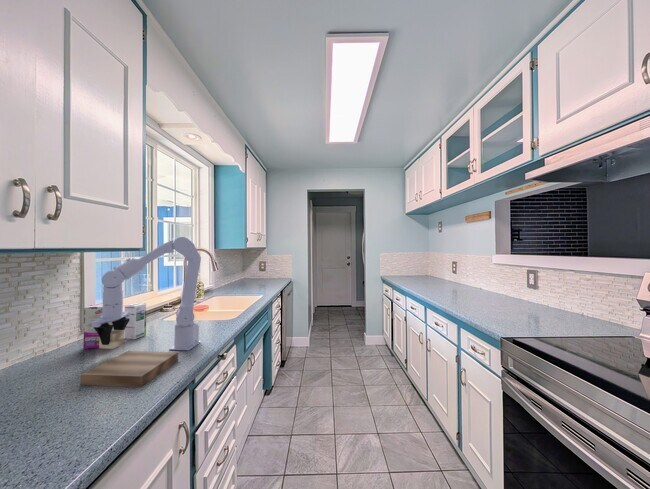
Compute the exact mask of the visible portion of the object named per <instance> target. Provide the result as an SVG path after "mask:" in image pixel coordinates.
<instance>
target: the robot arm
mask: <svg viewBox="0 0 650 489" xmlns="http://www.w3.org/2000/svg"><path fill="white" fill-rule="evenodd" d="M174 250H175V251H174ZM175 252H177V253H179V254H180V255H182V256H183V257H184V259H186V261H187V265H186V273H185V275H184V276H185V277H184V284H183V290H182V295H181V300H180V304H179V307H178V309H176V312H175V314H176V315H175V316H176V318H175V320H176V323H174V345H173V346H171V347H170V348H168V350H169V351H190V350H191V349H193V348H194V347H196V346H197V345H199V344H200V343H201V342H202V341H201V340H199V339H200V338H199V334H200V333H199V332H200V329H199V328H200V327H199V325H198V323H197V322H195V313H194V304H195V303H194V302H195V297H196V289H197V284H198V277H199V273H200V266H201V261H202V258H201V255H200V253H199V251H198V249H197V247H196V246H195V244H194V243H193V241H192V240H190V239H189V238H188V237H185V236H178V237H177V238H176V239H172V240H169V241H168V242H165V243H162V244H161V245H159V246H158V247H156V248H154V249H153V250H150V252H148V253H146V254H145V255H143V256H141V257H132V258H131V257H129V258H127V259H126V261H125V262H123V263H122V264H120V265H118V266H117V265H116V266H114V267H113V268H112V269H113V270H109V271H106V273H104V274H103V275H102V277H101V283H102V285H103V287H102V288H103V289H102V291H103V292H102V305H103V314H102V316H100V318H99V319H97V320H95V321H92V327H94V329H95V330H96V332H97V333H98V335H99V337H100V340H101V343H102V345H108V344H109V343H110V335H111V331H112V328H113V327H114V330H125V327H126V325H127V324H128V322H129V318H126V317H130V311H125V310H123V308H124V306H123V305H124V302H123V301H124V300H123V299H124V291H123V283H124V281H126V280H127V281H128V280H129V279H131V278H133V277H135V276H136V275H137V274H139V273H142V272H143V271H144V270H145V269H146V265H147V264H149V263H151V262H152V261H154V260H156V259H158V258H159V257H161V256H163V255H165V254H172V253H175ZM110 322H112V324H113V325H109V324H108V323H110Z"/></svg>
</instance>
